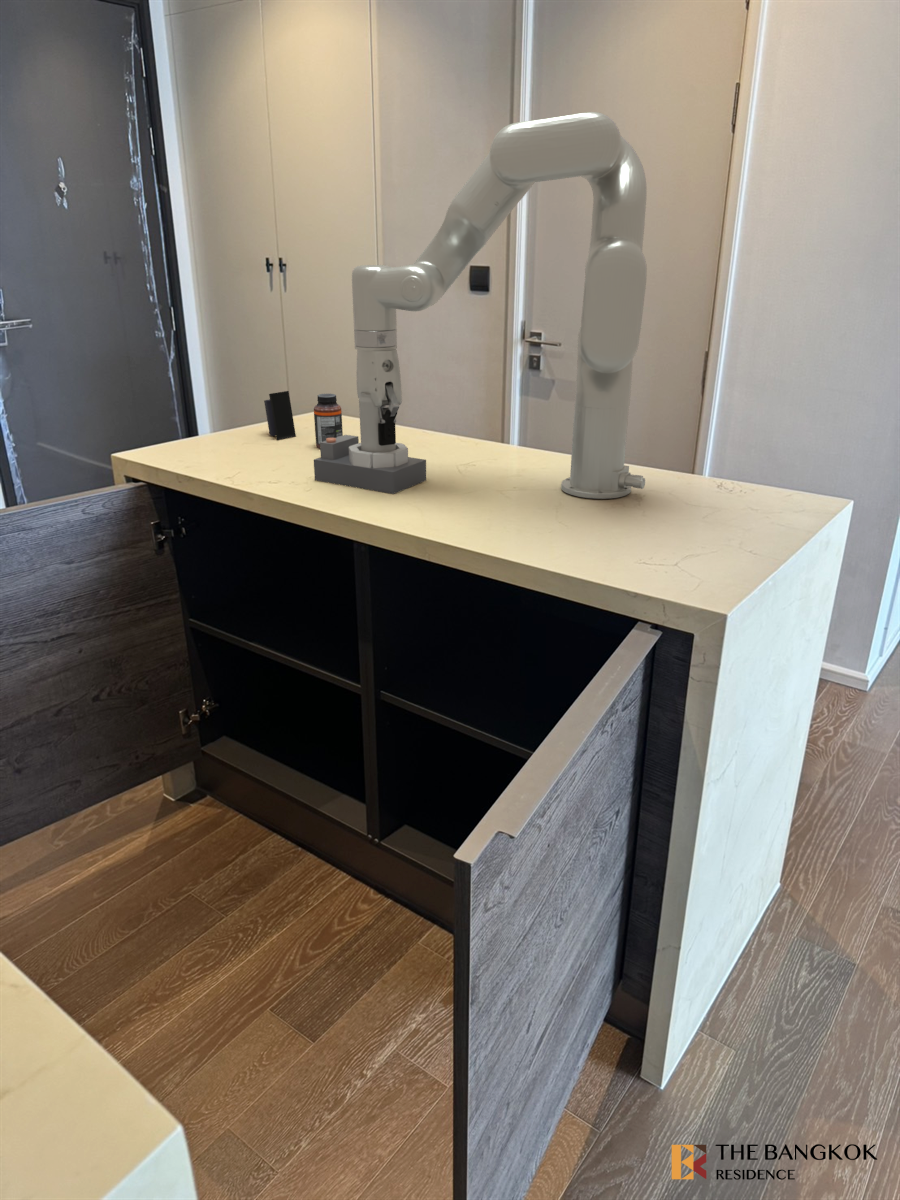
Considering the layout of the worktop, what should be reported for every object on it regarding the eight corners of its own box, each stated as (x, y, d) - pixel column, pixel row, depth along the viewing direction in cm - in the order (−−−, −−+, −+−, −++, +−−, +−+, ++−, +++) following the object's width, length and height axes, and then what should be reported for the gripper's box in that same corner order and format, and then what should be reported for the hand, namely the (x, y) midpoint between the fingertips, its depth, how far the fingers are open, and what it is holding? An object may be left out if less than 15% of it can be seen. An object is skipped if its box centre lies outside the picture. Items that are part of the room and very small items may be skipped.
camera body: (426, 480, 163) (425, 440, 160) (393, 494, 155) (392, 452, 152) (350, 468, 172) (348, 429, 169) (314, 480, 163) (312, 440, 160)
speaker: (301, 436, 197) (294, 390, 194) (277, 440, 195) (270, 393, 191) (290, 433, 204) (283, 389, 200) (267, 437, 201) (259, 392, 198)
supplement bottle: (320, 443, 192) (317, 392, 187) (346, 444, 191) (344, 392, 187) (312, 449, 186) (309, 396, 182) (339, 450, 186) (336, 397, 181)
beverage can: (402, 455, 161) (400, 390, 157) (382, 462, 156) (380, 395, 152) (374, 451, 164) (372, 387, 160) (354, 458, 159) (351, 392, 155)
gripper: (416, 343, 147) (418, 447, 154) (374, 334, 161) (378, 430, 168) (376, 346, 144) (380, 452, 151) (337, 336, 158) (342, 434, 164)
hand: (379, 440), depth 159 cm, fingers closed on beverage can, 6 cm apart
